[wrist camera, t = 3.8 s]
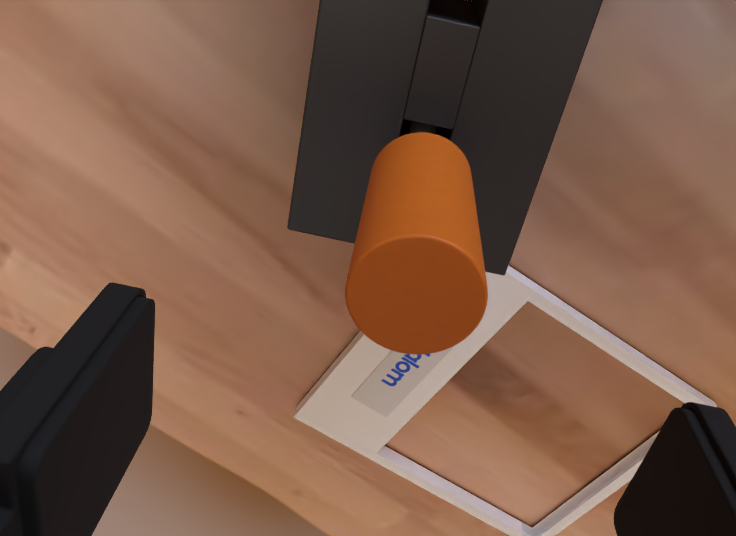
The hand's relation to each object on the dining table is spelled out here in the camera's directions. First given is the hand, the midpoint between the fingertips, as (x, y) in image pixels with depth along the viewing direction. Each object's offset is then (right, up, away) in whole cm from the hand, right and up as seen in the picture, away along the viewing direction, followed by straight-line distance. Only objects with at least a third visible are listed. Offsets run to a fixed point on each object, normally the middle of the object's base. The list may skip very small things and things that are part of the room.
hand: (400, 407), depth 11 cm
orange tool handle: (+2, +10, +17) cm, 19 cm away
